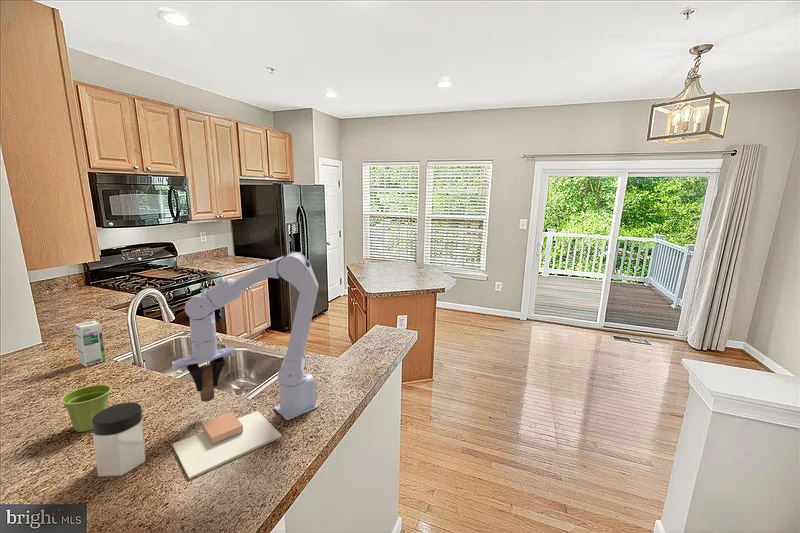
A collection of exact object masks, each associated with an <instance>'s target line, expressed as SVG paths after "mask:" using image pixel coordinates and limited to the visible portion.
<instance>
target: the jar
mask: <svg viewBox="0 0 800 533" xmlns="http://www.w3.org/2000/svg"><path fill="white" fill-rule="evenodd" d="M92 424H93V430H92V432H93V435H92V438H93V447H94V455H95V463H96V470H97V477H99V478H100V477H120V476H121V477H122V476H125V474H127V473H128V472H130V471H132V470H134V469H136V468H137V467H138V466H140V465H142V464H143V463H145V462H146V452H147V451H146V442H145V432H144V430H145V429H144V421H143V409H142V405H141V404H140V403H137V402H123V403H118V404H115V405H112V406H107V408H106V409H104V410H102V411H100V412H99V413H97V414H96V415H95V416H94V417H93V419H92Z"/></svg>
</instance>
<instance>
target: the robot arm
mask: <svg viewBox="0 0 800 533" xmlns="http://www.w3.org/2000/svg"><path fill="white" fill-rule="evenodd" d="M268 278H270V279H271V278H272V279H278V280H279V278H282V279H283V280H285V281H286V282H288V283H290V284H291V285H292V286H293V287H294V288H295V289H296V290H297V291H298V293H299V294H298V299H297V303H296V309H295V312H294V318H293V323H292V327H291V331H290V337H289V342H288V346H287V350H286V354H285V356H284V358H283V361H282V363H281V367H280V368H279V369H278V372H277V378H278V380H279V382H278V385H279V386H278V388H279V389H278V390H279V404H278V405H275V406H274V407H273V409H274V410H275V411H276V412H277V413H278V414H280V416H281V417H283V418H284V419H285V420H286V421H289V420H292V419H294V418H296V417H299V416H301V415H304V414H306V413H308V412H310V411H313V410H315V409H316V408H317V409H318V406H319V405H317V383H316V380H315V378H314V376H313V375H312V374H311V373H305V371H304V370H305V366H306V365H307V357H306V355H305V354H306V353H305V352H306V347H307V341H308V337H309V332H310V328H311V324H312V318H313V315H314V310H315V306H316V301H317V296H318V291H319V283H318V280H317V278H316V275H315V273H314V271H313V267H312V265H311V262H310V261H309V260H308V259H307V257H306V256H305V255H304V254H302V253H301V252H297V251H291V252H290V253H288V254H286V256H285V255H282V256H279V257H278V258H275V259H272V260H270V261H267V262H266V263H264V264H262V265H260V266H258V267H257V268H255V269H253V270H252V271H250V272H248V273H246V274H245V275H243V276H240V277H239V278H237V279H234V278H231V277H230V278H227V279H225V278H221V279H219V280H218V281H217V284H215V285H214V286H212V287H210V288H204V289H202V290H201V291H200V293H198V294H196V295H195V296H192V297H190V298H189V299H188V300H187V301H186V302H185V305H184V312H185V314H186V315H187V317H188V318H189V330H190V344H191V354H190V355H188V356H184V357H183V358H179V359H177V360H174V361H172V362H171V367H172V370H173V372H178V371H179V370H181V369H185V368H186V369H187V371H188V373H189V374H190V376H191V378H192V379H193V382H194V384H195V388H196V390H197V392H200V391H202V387H201V369H200V368H199V367H200V364H205V363H208V362H209V364H211V365H213V380H214V388H216V387H218V383H219V379H220V375H221V372H222V370H223V369H224V367H225V366H226V360H225V359H224V358H226V357H227V358H228V357H235V356H236V348H234V347H233V346H230V347H225V348H218V346H217V345H218V343H217V329H216V328H217V327H216V315H215V311H216V310H219V309H221V308H223V307H225V306H227V305H228V304H231V303H232V302H234V301H236V300H238V299H240V298H241V297H242V294H243V291H244V290H246V289H248V288H250V287H252V286H253V285H256V284H258V283H260V282H263V281H264V280H265V279H268Z"/></svg>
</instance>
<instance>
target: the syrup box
mask: <svg viewBox="0 0 800 533" xmlns="http://www.w3.org/2000/svg"><path fill="white" fill-rule="evenodd" d="M102 327H103V326H102V323H101V322H100V321H97V320H92V321H87V322H81V323H77V324H74V333H75V339H76V347H77V354H78V361H79V362H80V363H81V364H82V365H81V364H80V363H79V364H80V365H81V366H83V365H84V366H88V365H91V366H93V365H92V364H94V365H96V364H95V363H98V364H100V363H99V362H102V363H104V362H103V361H105V362H106V361H107V360H106V352H105V345H104V336H103V329H102ZM84 366H83V367H84ZM88 367H89V366H88Z"/></svg>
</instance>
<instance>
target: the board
mask: <svg viewBox="0 0 800 533" xmlns="http://www.w3.org/2000/svg"><path fill="white" fill-rule="evenodd" d="M237 419H238V420H239V421H240V423H241V424H242V425H243V433H241V434H238V435H236V436H234V437H231V438H229V439H226V440H224V441H222V442H219V443H217V444H215V445H212V444H211V442H210V440H209V439H208V437H207V436H206V434H205V433H204V431H202V432H199V433H197V434H195V435H191V436H190V437H187V438H184V439H181V440H179V441H177V442H174V443H172V448H173V450H174V452H175V454H176V456H177V458H178V460H179V462H180V464H181V466H182V468H183V470H184V473H185V475H186V474H187V475H186V476H188V477H187V479H188V478H189V479H190V480H192V478H193V479H194V477H195V478H197V477H199V476H201V475H203V474H205V473H208V472H210V471H212V470H214V469H216V468H218V467H220V466H222V464H223V465H225V464H227V463H230V462H231V461H233V460H236V459H238V458H240V457H242V456H244V455H246V454H248V453H251V452H253V451H254V450H257V449H260V448H261V447H263V446H265V445H267V444H269V443H272V442H274V441H277V440H279V439H280V438H282V434H281V433H280V432H279V430H278V429H276V428H275V427H274V426H273V425H272V423H270V422H269V421H268V420H267V419H266V418H265V416H263V415H262V413H261V412H259V410H257V411H254V412H251V413H249V414H246V415H244V416H241V417H239V418H237ZM224 463H225V464H224ZM207 471H208V472H207ZM196 476H197V477H196ZM189 479H188V480H189Z"/></svg>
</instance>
